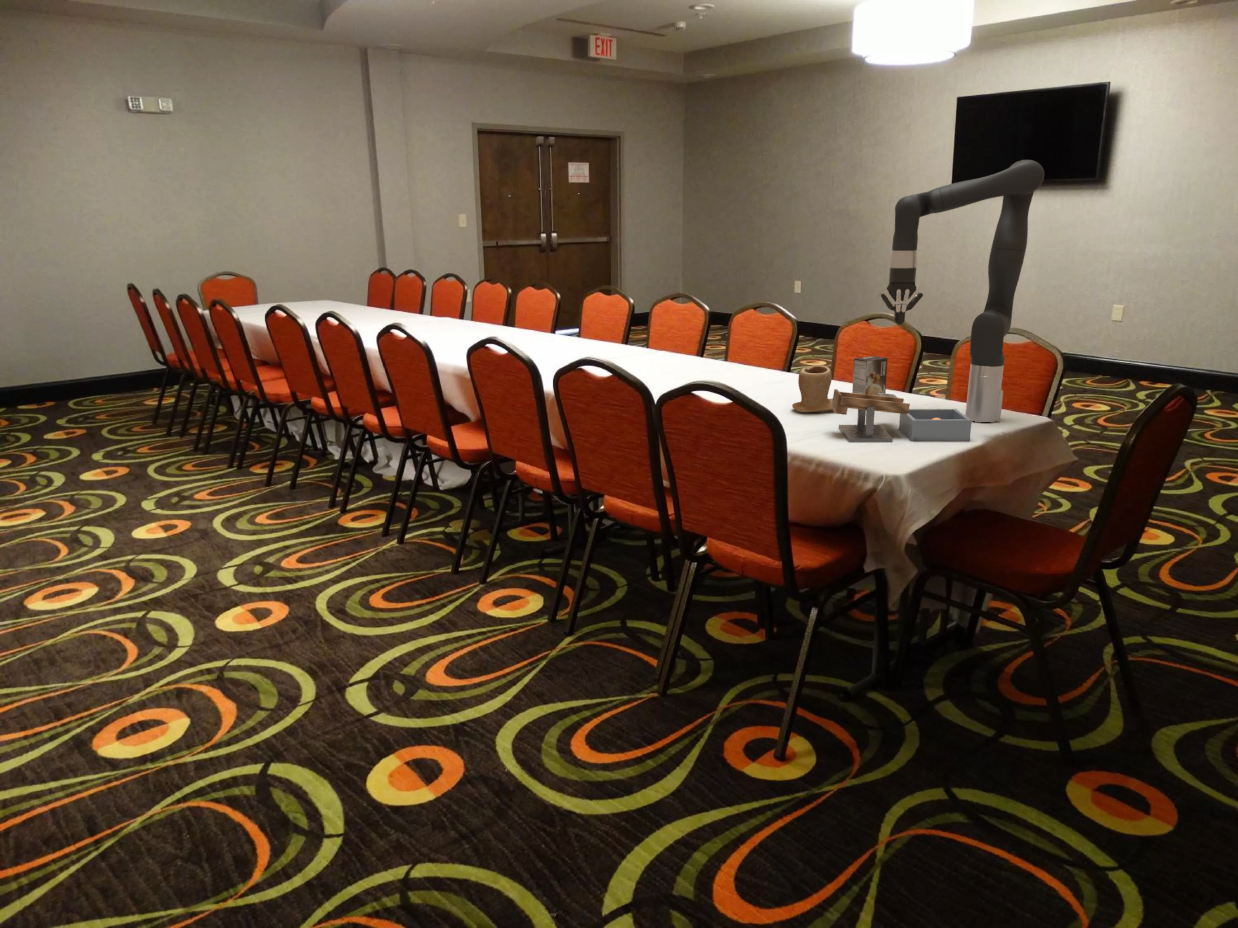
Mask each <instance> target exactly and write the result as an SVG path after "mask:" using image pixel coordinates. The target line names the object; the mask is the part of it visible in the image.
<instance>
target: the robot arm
mask: <svg viewBox="0 0 1238 928" xmlns="http://www.w3.org/2000/svg"><path fill="white" fill-rule="evenodd" d="M1044 178H1045V170H1044V167H1043V166H1042V165H1041V164H1040V163H1039V162H1037V161H1036V160H1032V159H1021V160H1018V161H1016V162H1014V163H1012V164H1011V165H1010V166H1009V167H1008V168H1006V169H1004V170H1002V171H999V172H996V173H994V174H990V175H986V176H983V177H979V178H978V177H977V178H973V179H968V180H963V181H959V182H954V183H950V184H946V185H943V186H939V187H936V188H933V189H930V190H928V191H924V192H919V193H915V194H910V195H905V196H903V197H901V198H899V200H898V201H897V202H896V204H895V206H894V232H893V236H892V237H893V238H892V246H891V248H892V249H891V255H890V262H889V263H890V265H889V274H888V275H889V276H888V284H887V286H886V289H885V290H884V291H883V292H880V294H879V295H878V296H879V297H880V299H881V300H882V301H883V303H884V304H885V306H886V307H887V308H888V309H889V310H890V311H893V313H894V315H893V322H894V323H895V325H898V326H899V325H900V326H901V325H903V323H905V319H906V318H905V317H906V313H907V312H908V311H911V310H913V308H914V307H915V306H916V305H917V304H918V302H919V301H920V300H921V299H922V297H924V293H922V292H920V291H918V289H917V285H916V277H917V265H918V241H919V236H918V234H919V233H918V232H919V225H920V218H922V217H924V216H928V215H932V214H940V213H943V212H948V211H951V210H955V209H959V208H962V207H965V206H968V205H972V204H975V203H979V202H982V201H986V200H989V199H993V198H994V199H995V198H998V197H1002V205H1001V210H1000V215H999V219H998V221H997V224H996V229H995V231H994V236H993V240H992V244H991V247H990V248H991V249H990V253H989V258H988V266H987V267H988V269H987V273H988V274H987V275H988V278H987V279H988V293H987V299H986V302H985V305H984V308H983V309H984V310H983V311H982V313H980V314H978V315H977V316H976V317H975V318H974V319H973V322H972V325H971V330H970V331H971V333H970V345H969V355H970V367H969V377H968V384H967V385H968V387H967V397H966V405H965V414H964V415H965V416H967V417H968V418H969V419H971V420H972V422H973V421H975V422H974V423H981V422H991V423H995V421H997V422H1001V415H1002V407H1003V397H1004V390H1002V384H1003V383H1002V382H1003V375H1004V368H1005V367H1004V366H1005V365H1004V364H1005V355H1004V352H1003V351H1004V350H1003V349H1004V341H1005V340H1004V339H1005V337H1006V336H1007V335H1008V333H1009V331H1010V330H1011V326H1012V317H1013V307H1014V300H1015V299H1014V298H1015V295H1016V290H1017V287H1018V283H1019V280H1020V275H1021V272H1022V268H1023V265H1024V260H1025V257H1026V250H1027V246H1028V245H1027V244H1028V234H1029V232H1028V231H1029V211H1030V208H1031V207H1030V206H1031V203H1032V200H1033V195H1034V193H1035V191H1036V190H1038V189H1039V188H1040V187H1041V186H1042V184H1043V182H1044V180H1045V179H1044ZM889 297H891V299H892V300H893V304H892V302H891V300H889ZM911 297H913V298H912V299H911ZM910 299H911V300H910ZM909 300H910V301H909Z"/></svg>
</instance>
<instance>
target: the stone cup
mask: <svg viewBox="0 0 1238 928" xmlns="http://www.w3.org/2000/svg"><path fill="white" fill-rule="evenodd" d="M832 379H833V376H832V371H831V368H829V366H826V365H823V364H822V365H820V364H814V365H813V364H812V365H809V366H807V367H803V368H801V369H800V371H799V373H798V379H797V380H798V382H797V383H798V388H799V392H800V396H801V400H800V401H796V402H794V403H793V404H792V405H791V407H792V408H793V410H795V411H797V412H800V413H816V412H817V413H819V412H828V411H833V409H832V408H831V406H832V401H833V398H829V396H828V395H829V393H830V392H829V391H830V387H831V384H832Z"/></svg>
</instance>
